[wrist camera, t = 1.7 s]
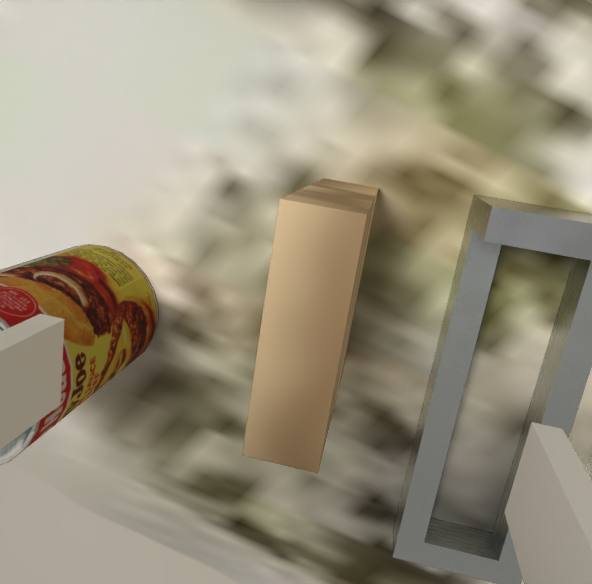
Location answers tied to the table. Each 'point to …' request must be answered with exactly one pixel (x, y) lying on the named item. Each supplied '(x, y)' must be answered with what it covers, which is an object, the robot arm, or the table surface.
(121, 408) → the table surface
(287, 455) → the door panel
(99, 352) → the canned food
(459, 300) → the track
